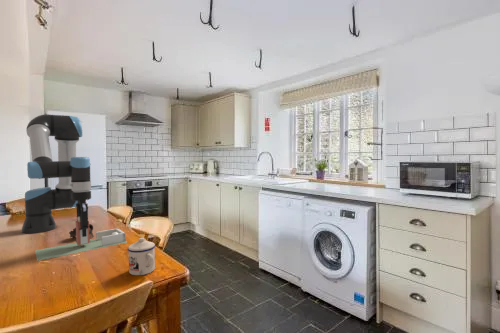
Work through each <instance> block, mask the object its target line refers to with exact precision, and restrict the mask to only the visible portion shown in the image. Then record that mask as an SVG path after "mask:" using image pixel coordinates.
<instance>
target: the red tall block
mask: <svg viewBox="0 0 500 333" xmlns="http://www.w3.org/2000/svg"><path fill="white" fill-rule="evenodd" d="M77 218H78V221H77V220H75V228H76V237H75V238H76V239H75V240H76V241H75V243H77V244H78V245H82V244H81V242H80V230H79V229H80V228H81V225H80V216H79V217H77V216H76V219H77ZM89 224H90V220H88V228H87V233H88V243H90V240H91V239H90V237H89ZM85 244H87V243H85Z"/></svg>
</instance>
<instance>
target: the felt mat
mask: <svg viewBox="0 0 500 333" xmlns="http://www.w3.org/2000/svg"><path fill="white" fill-rule="evenodd" d="M127 243H128V240H126V241H125V242H120V243H115V244H110V245H106V246H102V240H98V241H97V240H96V238H94V239H90V243H87V244H82V245H78V244H77V243H76V242H73V243H68V244H62V245H57V246H56V245H55V246H51V247H46V248H40V249H36V250H34V251H35V252H34V253H35V257H36V261H37V262H38V261H44V260H49V259H53V258H58V257H64V256H68V255H72V254H77V253H83V252H87V251H93V250H98V249H102V248H107V247H113V246H115V245H121V244H127Z"/></svg>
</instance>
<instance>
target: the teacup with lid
mask: <svg viewBox="0 0 500 333" xmlns="http://www.w3.org/2000/svg"><path fill="white" fill-rule="evenodd" d="M155 247H156V244H155V243H154V242H152V241H149V240H146V239H145V238H144V237H140V238H138V240H137V241H136V242H134V243H131V244H130V245H129V246H128V247H127V252H128V272H129V274H131V275H132V276H145V275H148V274H150V273H152V272H153V271H155V269H156V263H155V262H156V261H155V260H156V259H155V258H156V257H155V256H156V253H155Z"/></svg>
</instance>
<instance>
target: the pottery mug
mask: <svg viewBox="0 0 500 333" xmlns="http://www.w3.org/2000/svg"><path fill="white" fill-rule="evenodd" d="M93 230H94V226H93V224H91V223H89V237H90V240H92V238H94V233H93ZM68 234H69V237H70V238H73V239H75V238H76V227H75V228H73V229H72V230H71V231H69V232H68Z"/></svg>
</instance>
